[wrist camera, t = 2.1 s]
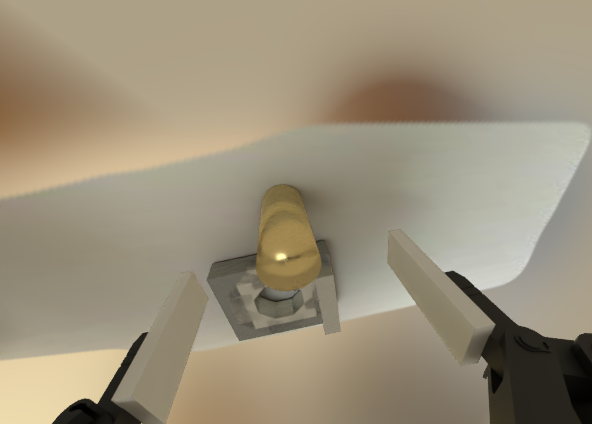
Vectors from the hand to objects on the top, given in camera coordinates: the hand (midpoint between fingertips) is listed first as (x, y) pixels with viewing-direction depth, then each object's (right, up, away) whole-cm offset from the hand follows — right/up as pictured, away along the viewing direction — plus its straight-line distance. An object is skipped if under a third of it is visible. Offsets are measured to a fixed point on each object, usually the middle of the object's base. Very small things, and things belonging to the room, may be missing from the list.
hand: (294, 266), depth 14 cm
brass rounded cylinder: (-1, +5, +9) cm, 10 cm away
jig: (-2, -6, +14) cm, 16 cm away
